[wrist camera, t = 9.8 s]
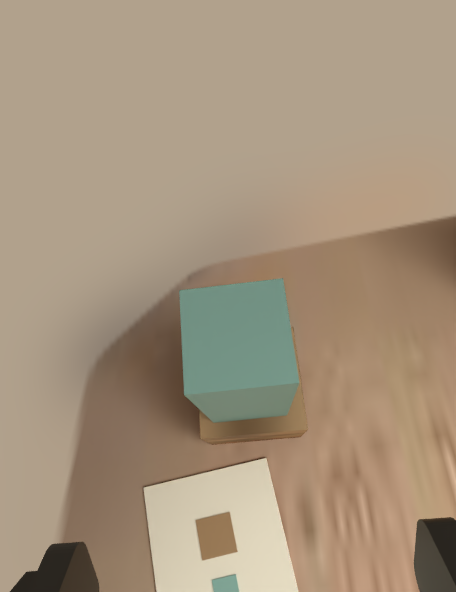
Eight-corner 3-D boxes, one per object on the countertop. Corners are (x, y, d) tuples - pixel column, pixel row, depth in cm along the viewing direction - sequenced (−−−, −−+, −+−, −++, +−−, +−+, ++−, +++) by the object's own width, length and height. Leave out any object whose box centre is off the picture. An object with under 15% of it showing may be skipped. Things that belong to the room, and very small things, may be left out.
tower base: (288, 351, 33) (292, 326, 27) (300, 437, 30) (307, 429, 25) (207, 358, 33) (195, 336, 28) (212, 444, 30) (200, 438, 25)
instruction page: (266, 457, 30) (266, 457, 29) (316, 666, 25) (316, 668, 25) (144, 487, 30) (143, 487, 29) (171, 702, 25) (170, 704, 25)
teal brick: (276, 344, 27) (283, 278, 18) (287, 415, 25) (299, 383, 16) (208, 351, 27) (179, 290, 18) (213, 422, 25) (184, 394, 16)
